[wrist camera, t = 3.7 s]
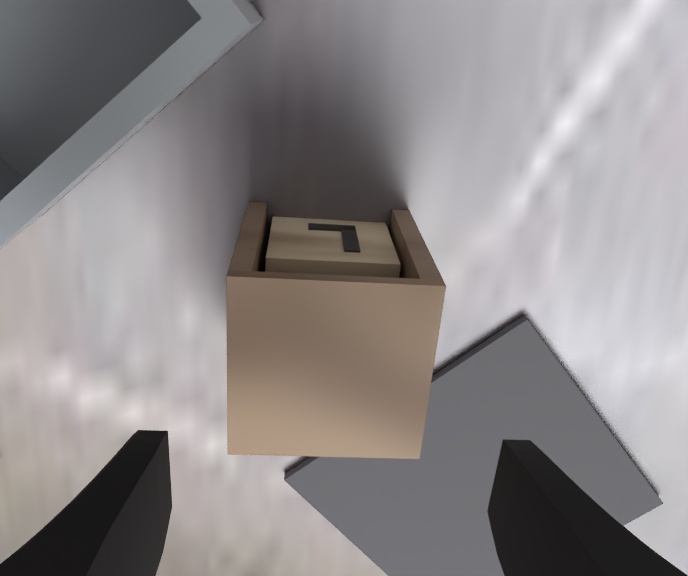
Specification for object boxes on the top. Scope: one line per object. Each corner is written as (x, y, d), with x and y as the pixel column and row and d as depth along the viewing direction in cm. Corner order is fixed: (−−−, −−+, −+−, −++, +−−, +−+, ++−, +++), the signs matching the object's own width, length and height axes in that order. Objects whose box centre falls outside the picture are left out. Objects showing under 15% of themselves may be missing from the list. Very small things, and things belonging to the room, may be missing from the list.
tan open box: (392, 347, 24) (419, 459, 18) (247, 342, 24) (227, 454, 18) (408, 210, 22) (446, 286, 16) (248, 201, 21) (226, 276, 16)
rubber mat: (441, 618, 31) (442, 625, 30) (284, 473, 27) (284, 480, 26) (658, 497, 28) (663, 503, 28) (523, 314, 24) (527, 319, 24)
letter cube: (374, 321, 24) (386, 379, 20) (269, 316, 24) (262, 375, 20) (385, 220, 22) (401, 263, 18) (272, 213, 22) (265, 256, 18)
